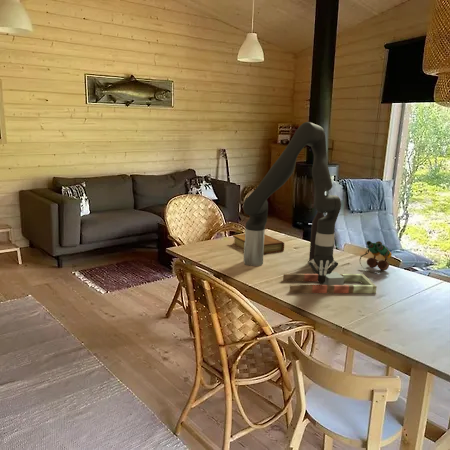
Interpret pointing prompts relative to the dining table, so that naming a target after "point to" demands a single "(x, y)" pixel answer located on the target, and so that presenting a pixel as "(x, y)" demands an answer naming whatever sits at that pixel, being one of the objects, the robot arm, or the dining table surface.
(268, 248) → the diary
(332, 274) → the slate block
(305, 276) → the tray
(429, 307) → the dining table surface
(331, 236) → the robot arm
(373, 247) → the wheeled frog toy
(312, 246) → the wine bottle
